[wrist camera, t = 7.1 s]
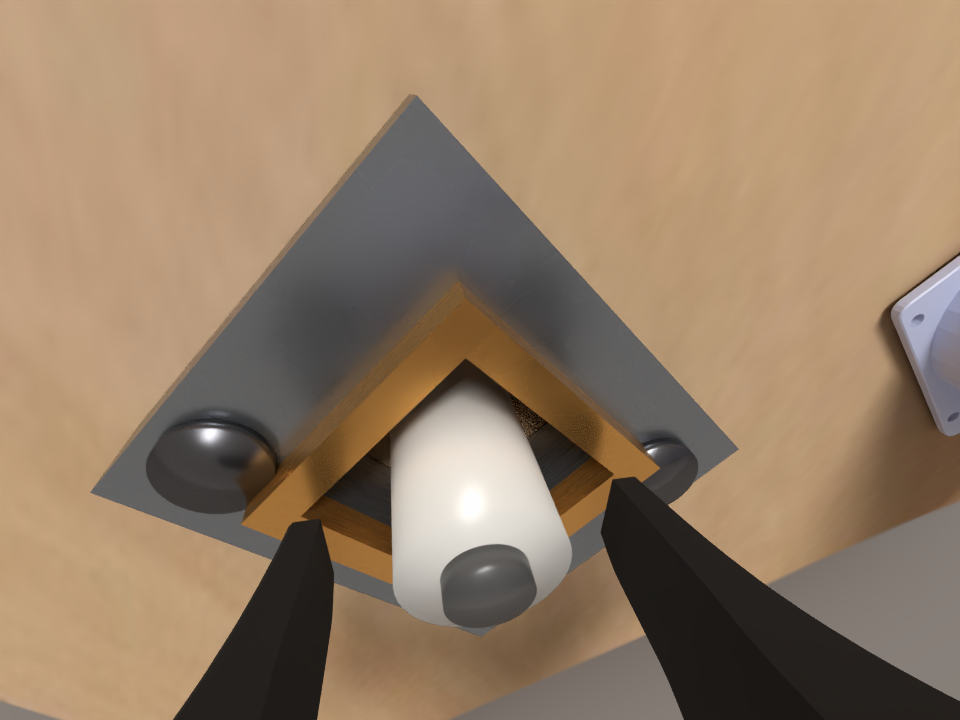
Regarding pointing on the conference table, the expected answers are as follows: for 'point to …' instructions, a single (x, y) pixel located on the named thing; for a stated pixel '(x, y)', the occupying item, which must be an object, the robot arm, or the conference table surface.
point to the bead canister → (471, 508)
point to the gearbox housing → (405, 368)
